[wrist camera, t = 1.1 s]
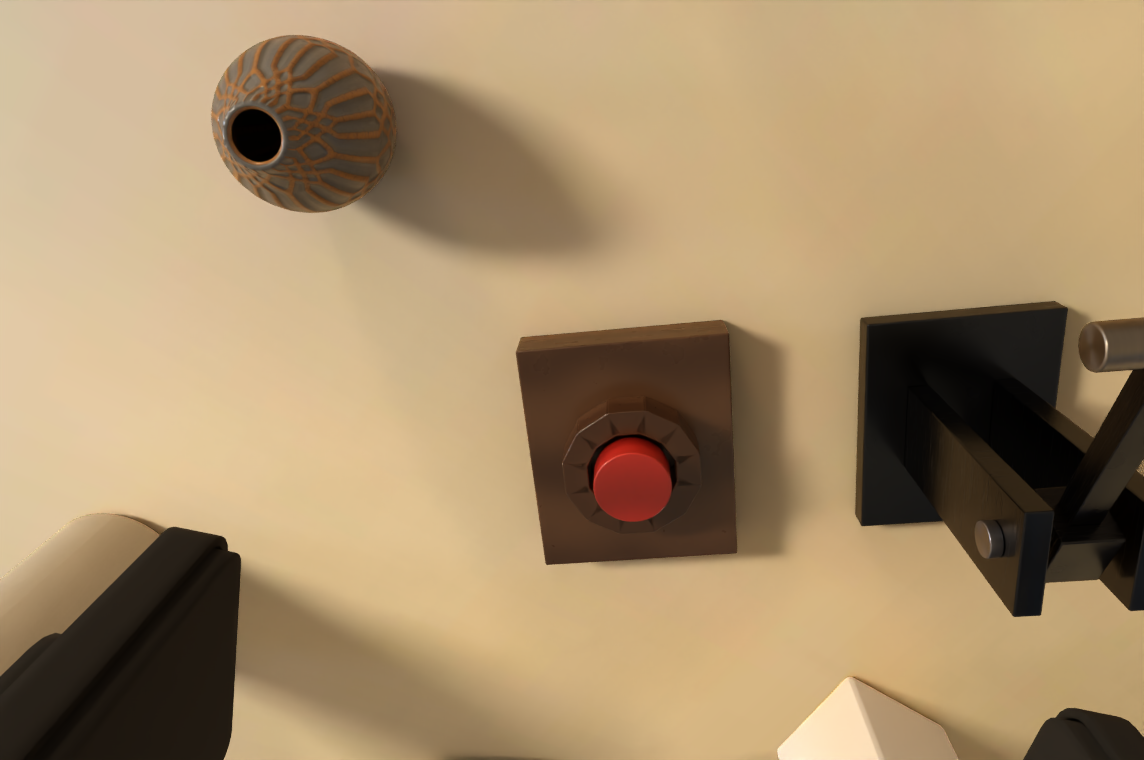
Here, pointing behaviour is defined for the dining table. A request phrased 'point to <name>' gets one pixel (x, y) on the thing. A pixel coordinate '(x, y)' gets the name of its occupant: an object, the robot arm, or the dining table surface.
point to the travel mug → (65, 578)
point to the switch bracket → (980, 442)
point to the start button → (632, 479)
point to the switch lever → (1100, 459)
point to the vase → (303, 123)
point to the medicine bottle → (865, 730)
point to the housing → (631, 409)
